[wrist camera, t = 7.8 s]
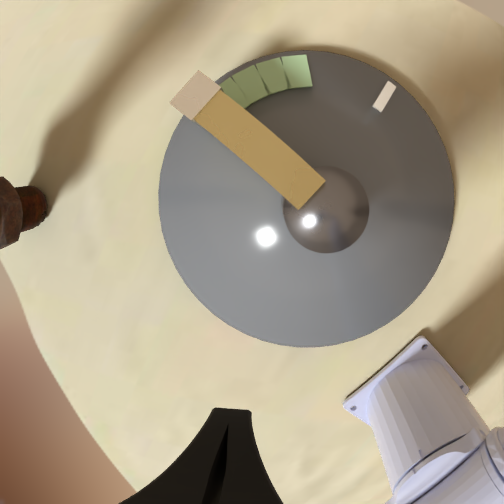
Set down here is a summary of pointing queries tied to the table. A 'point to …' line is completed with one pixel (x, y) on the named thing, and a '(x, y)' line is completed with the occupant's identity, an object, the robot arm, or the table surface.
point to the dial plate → (269, 199)
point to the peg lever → (282, 170)
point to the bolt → (19, 210)
